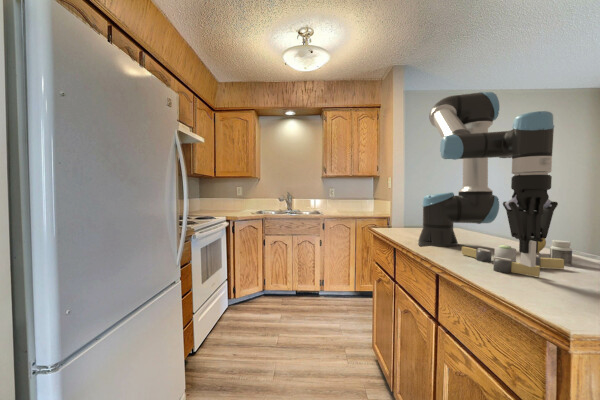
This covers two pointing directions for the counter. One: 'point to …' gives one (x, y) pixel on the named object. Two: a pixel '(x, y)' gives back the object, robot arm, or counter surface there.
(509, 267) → the knob
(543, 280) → the counter surface
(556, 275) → the counter surface
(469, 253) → the knob
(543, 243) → the light bulb
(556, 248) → the pill bottle
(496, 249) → the tribrach plate
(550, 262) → the knob
